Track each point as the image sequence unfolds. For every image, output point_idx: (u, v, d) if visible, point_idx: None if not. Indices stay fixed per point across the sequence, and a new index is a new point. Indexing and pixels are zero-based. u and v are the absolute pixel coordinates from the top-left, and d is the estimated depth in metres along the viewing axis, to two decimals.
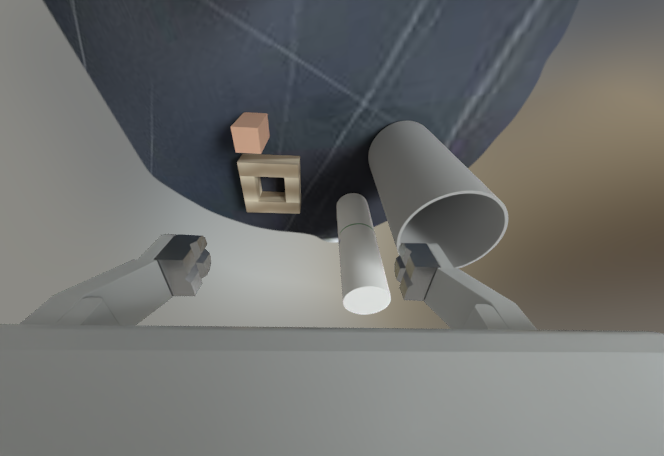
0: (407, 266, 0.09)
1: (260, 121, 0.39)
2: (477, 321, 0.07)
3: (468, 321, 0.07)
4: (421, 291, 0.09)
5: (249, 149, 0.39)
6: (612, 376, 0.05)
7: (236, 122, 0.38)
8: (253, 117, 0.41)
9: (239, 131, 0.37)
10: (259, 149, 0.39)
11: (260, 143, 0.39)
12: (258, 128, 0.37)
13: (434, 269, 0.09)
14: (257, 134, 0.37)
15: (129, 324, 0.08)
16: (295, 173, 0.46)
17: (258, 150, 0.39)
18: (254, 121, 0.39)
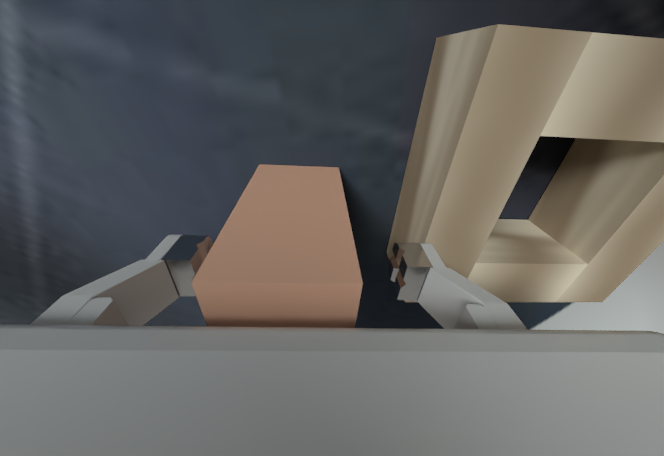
0: (401, 266, 0.09)
1: (232, 218, 0.08)
2: (468, 321, 0.07)
3: (459, 321, 0.07)
4: (414, 291, 0.09)
5: None
6: (611, 376, 0.05)
7: None
8: None
9: None
10: (334, 287, 0.06)
11: (303, 267, 0.06)
12: (210, 267, 0.06)
13: (427, 269, 0.09)
14: (235, 287, 0.06)
15: (137, 324, 0.08)
16: (548, 55, 0.07)
17: (340, 292, 0.06)
18: None
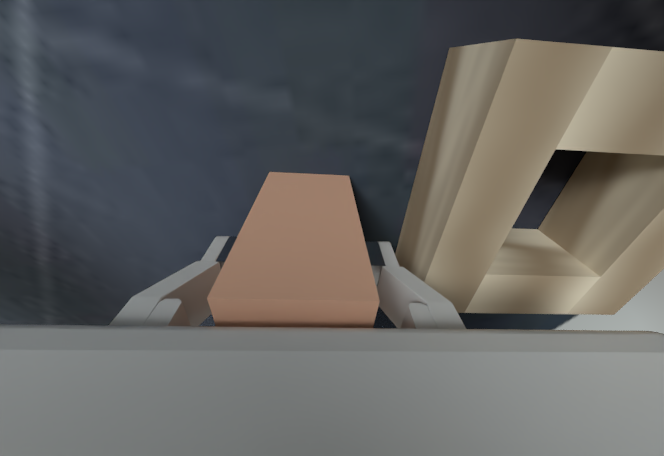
0: None
1: (244, 228, 0.08)
2: (409, 320, 0.07)
3: (404, 320, 0.07)
4: None
5: None
6: (611, 376, 0.05)
7: None
8: None
9: None
10: (350, 304, 0.06)
11: (318, 283, 0.06)
12: (225, 281, 0.06)
13: (379, 268, 0.09)
14: (251, 303, 0.06)
15: (193, 325, 0.08)
16: (566, 69, 0.07)
17: (356, 309, 0.06)
18: None
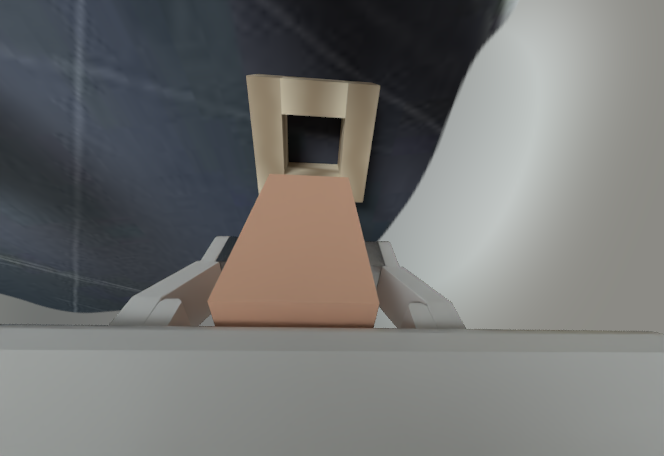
0: None
1: (244, 230, 0.08)
2: (409, 320, 0.07)
3: (404, 320, 0.07)
4: None
5: None
6: (612, 376, 0.05)
7: None
8: None
9: None
10: (350, 306, 0.06)
11: (318, 285, 0.06)
12: (225, 284, 0.06)
13: (379, 268, 0.09)
14: (251, 306, 0.06)
15: (193, 325, 0.08)
16: (268, 85, 0.20)
17: (356, 311, 0.06)
18: None
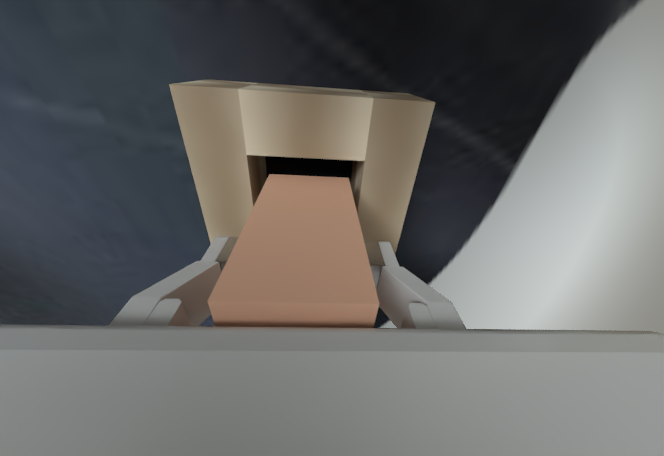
0: None
1: (244, 231, 0.08)
2: (409, 320, 0.07)
3: (404, 320, 0.07)
4: None
5: None
6: (611, 376, 0.05)
7: None
8: None
9: None
10: (350, 307, 0.06)
11: (318, 286, 0.06)
12: (225, 285, 0.06)
13: (379, 268, 0.09)
14: (251, 306, 0.06)
15: (193, 325, 0.08)
16: (216, 102, 0.10)
17: (356, 312, 0.06)
18: None
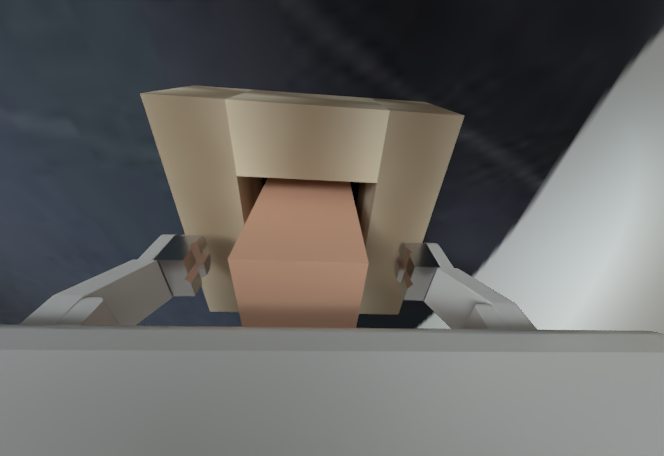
0: (408, 266, 0.09)
1: (254, 209, 0.10)
2: (477, 321, 0.07)
3: (468, 321, 0.07)
4: (421, 291, 0.09)
5: (342, 303, 0.08)
6: (611, 376, 0.05)
7: None
8: None
9: (260, 321, 0.08)
10: (344, 266, 0.07)
11: (318, 250, 0.07)
12: (241, 248, 0.07)
13: (434, 269, 0.09)
14: (263, 264, 0.07)
15: (129, 324, 0.08)
16: (199, 115, 0.08)
17: (350, 270, 0.07)
18: None
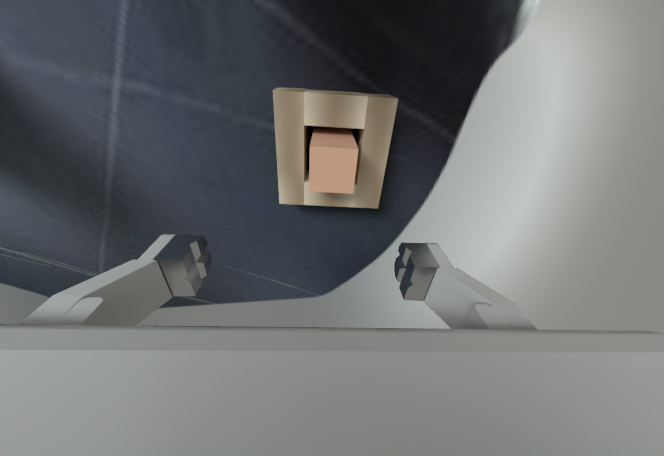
0: (407, 266, 0.09)
1: (311, 139, 0.23)
2: (477, 321, 0.07)
3: (468, 321, 0.07)
4: (421, 291, 0.09)
5: (349, 169, 0.21)
6: (612, 376, 0.05)
7: None
8: None
9: (316, 179, 0.21)
10: (350, 150, 0.20)
11: (340, 146, 0.20)
12: (312, 144, 0.20)
13: (434, 269, 0.09)
14: (321, 148, 0.20)
15: (129, 324, 0.08)
16: (293, 98, 0.22)
17: (351, 152, 0.20)
18: None
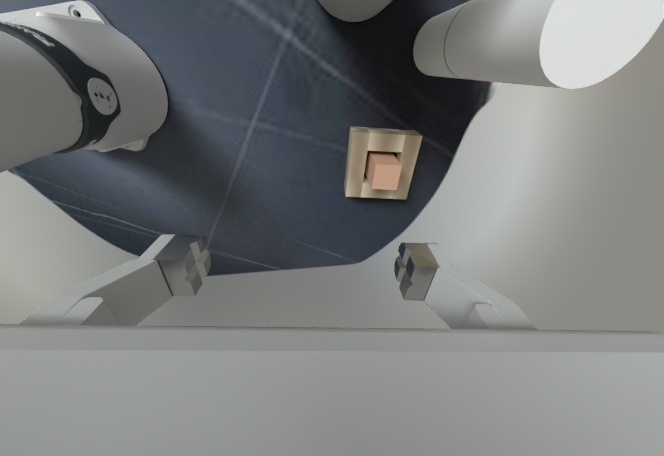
0: (407, 266, 0.09)
1: (372, 158, 0.39)
2: (477, 321, 0.07)
3: (468, 321, 0.07)
4: (421, 291, 0.09)
5: (395, 176, 0.38)
6: (611, 376, 0.05)
7: (369, 181, 0.40)
8: (368, 163, 0.42)
9: (376, 181, 0.38)
10: (397, 166, 0.37)
11: (391, 163, 0.37)
12: (376, 163, 0.37)
13: (434, 269, 0.09)
14: (382, 165, 0.37)
15: (129, 324, 0.08)
16: (363, 136, 0.38)
17: (398, 167, 0.37)
18: (371, 164, 0.40)
